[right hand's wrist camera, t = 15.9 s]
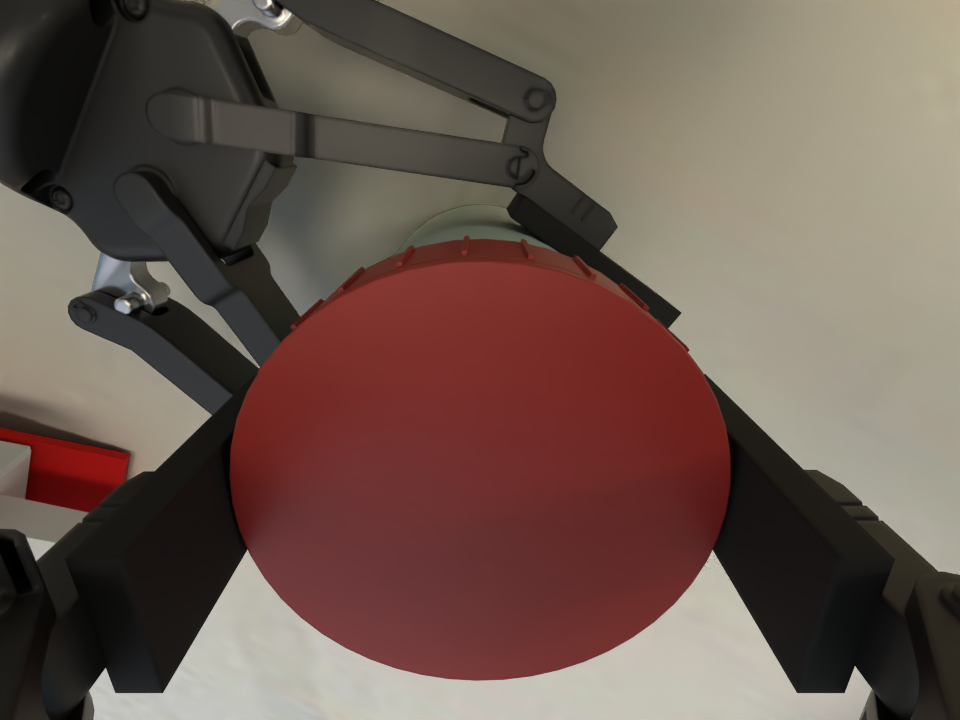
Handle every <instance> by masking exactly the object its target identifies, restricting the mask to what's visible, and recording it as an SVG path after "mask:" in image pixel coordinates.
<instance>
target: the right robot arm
mask: <svg viewBox="0 0 960 720" xmlns="http://www.w3.org/2000/svg"><path fill="white" fill-rule="evenodd" d="M256 376H257V374H254V375H253V376H252V377H251V378H250V379H249V380H248V381H247V382H246V383H245V384H244V385H243V386H242V387H241V388H240V389H239V390H238V391H237V392H236V393H235V394H234V395H233V396H232V397H231V398H230V399H229V400H228V401H227V402H226V403H225V404H224V405H223V406H222V407H221V408H219V409H218V410H217V411H216V412H215V413H214V414H213V415H212V416H211V417H210V418H209V419H208V420H207V421H206V422H205V423H204V424H203V425H202V426H201V427H200V428H199V429H198V430H197V431H196V432H195V433H194V434H193V435H192V436H191V437H190V438H189V439H188V440H187V441H186V442H185V443H184V444H183V445H181V446H180V447H179V448H178V449H177V450H176V451H175V452H174V453H173V454H172V455H171V456H170V457H169V458H168V459H167V460H166V461H165V462H164V463H163V464H162V465H161V466H160V467H159V468H158V469H157V470H156V471H155V472H142V473H141V474H139V475H137V476H135V477H134V478H132V479H130V480H128V481H127V482H125V483H123V484H121V485H119V486H118V487H117V488H115V489H114V490H113V491H112V492H111V493H110V494H109V495H108V496H107V497H106V498H105V499H103V500H102V501H101V502H100V503H99V504H98V505H99V506H98V508H94V509H93V510H91V511H90V512H89V513H88V514H87V515H86V516H85V517H84V518H83V519H82V523H77V524H76V525H75V526H74V527H73V528H72V529H71V530H70V531H69V532H67V533H66V534H65V535H64V536H63V537H62V538H61V539H60V540H59V541H58V542H56V543H55V544H54V545H53V546H52V547H51V548H50V549H49V550H48V551H47V552H46V553H44V554H43V555H42V556H41V557H40V558H39V559H38V560H37V561H36V560H35V557H34V555H33V553H32V550H31V548H30V545H29V543H28V540H27V538H26V535H25V534H23V533H21V532H20V531H18V530H16V529H0V720H93V717H94V706H93V701H92V697H91V695H90V692H89V690H90V688H91V687H92V685H93V684H94V683H95V681H96V680H97V679H98V677H99V676H100V675H101V673H102V672H103V670H104V669H105V668H106V669H107V672H108V674H109V677H110V680H111V682H112V685H113V687H114V690H115V693H163V692H164V690H165V688H166V687H167V685H168V683H169V682H170V680H171V678H172V677H173V675H174V673H175V671H176V670H177V668H178V666H179V665H180V663H181V661H182V660H183V658H184V656H185V654H186V653H187V651H188V649H189V648H190V646H191V644H192V643H193V641H194V639H195V638H196V636H197V634H198V632H199V631H200V629H201V627H202V626H203V624H204V622H205V621H206V619H207V617H208V615H209V614H210V612H211V610H212V609H213V607H214V605H215V604H216V602H217V600H218V598H219V597H220V595H221V593H222V592H223V590H224V588H225V587H226V585H227V583H228V582H229V580H230V578H231V576H232V575H233V573H234V571H235V570H236V568H237V566H238V565H239V563H240V561H241V559H242V558H243V556H244V554H245V553H246V551H247V549H248V548H247V546H246V544H245V542H244V539H243V537H242V535H241V533H240V530H239V526H238V523H237V519H236V515H235V512H234V508H233V505H232V496H231V487H230V479H229V473H230V450H231V444H232V439H233V434H234V429H235V424H236V420H237V417H238V414H239V412H240V409H241V407H242V404H243V401H244V399H245V396H246V394H247V391H248V390H249V388H250V386H251V384H252V383H253V381H254V379H255V377H256ZM704 376H705V378H706V380H707V382H708V384H709V386H710V388H711V389H712V391H713V393H714V395H715V397H716V399H717V402H718V405H719V408H720V411H721V414H722V417H723V420H724V423H725V426H726V430H727V436H728V442H729V449H730V455H731V486H730V492H729V499H728V505H727V511H726V515H725V518H724V521H723V524H722V527H721V530H720V534H719V537H718V539H717V541H716V543H715V545H714V547H713V551H714V553H715V554H716V556H717V558H718V559H719V561H720V563H721V565H722V566H723V568H724V570H725V571H726V573H727V575H728V576H729V578H730V580H731V581H732V583H733V585H734V587H735V588H736V590H737V592H738V593H739V595H740V597H741V598H742V600H743V602H744V604H745V605H746V607H747V609H748V610H749V612H750V614H751V615H752V617H753V619H754V621H755V622H756V624H757V626H758V627H759V629H760V631H761V632H762V634H763V636H764V637H765V639H766V641H767V643H768V644H769V646H770V648H771V649H772V651H773V653H774V654H775V656H776V658H777V660H778V661H779V663H780V665H781V666H782V668H783V670H784V671H785V673H786V675H787V677H788V678H789V680H790V682H791V683H792V685H793V687H794V688H795V690H796V692H797V693H845V690H846V688H847V685H848V682H849V680H850V677H851V674H852V672H853V669H854V667H855V666H856V668H857V669H858V670H859V672H860V673H861V674H862V676H863V677H864V678H865V680H866V681H867V683H868V684H869V685H870V687H871V688H872V690H871V692H870V695H869V697H868V700H867V702H866V705H865V707H864V710H863V712H862V714H861V717H860V719H859V720H960V575H957V574H952V573H947V572H938V571H937V570H936V569H935V568H934V567H933V566H932V565H931V564H930V563H928V562H927V561H926V560H925V559H924V558H923V557H922V556H921V555H920V554H919V553H917V552H916V551H915V550H914V549H913V548H912V547H911V546H910V545H909V544H908V543H906V542H905V541H904V540H903V539H902V538H901V537H900V536H899V535H898V534H897V533H895V532H894V531H893V530H892V529H891V528H890V527H889V526H888V525H887V524H886V523H884V522H883V521H879V519H878V516H877V515H876V514H875V513H873V512H872V511H871V510H870V509H869V508H868V507H867V506H863V505H862V502H861V501H860V500H859V499H858V498H857V497H856V496H855V495H854V494H853V493H851V492H850V491H849V490H848V489H847V488H846V487H845V486H844V485H842V484H841V483H839V482H837V481H835V480H834V479H832V478H830V477H828V476H826V475H825V474H823V473H821V472H819V471H818V470H803V469H802V468H801V467H800V466H799V465H798V464H797V463H796V462H795V461H794V460H793V459H792V458H791V457H790V456H789V455H788V454H787V453H786V452H785V451H784V450H783V449H782V448H781V447H780V446H779V445H777V444H776V443H775V442H774V441H773V440H772V439H771V438H770V437H769V436H768V435H767V434H766V433H765V432H764V431H763V430H762V429H761V428H760V427H759V426H758V425H757V424H756V423H755V422H754V421H753V420H752V419H751V418H750V417H749V416H748V415H747V414H746V413H745V412H744V411H743V410H742V409H741V408H740V407H738V406H737V405H736V404H735V403H734V402H733V401H732V400H731V399H730V398H729V397H728V396H727V395H726V394H725V393H724V392H723V391H722V390H721V389H720V388H719V387H718V386H717V385H716V384H715V383H714V382H713V381H712V380H711V379H710V378H709V377H708V376H707V375H706V374H704Z"/></svg>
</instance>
